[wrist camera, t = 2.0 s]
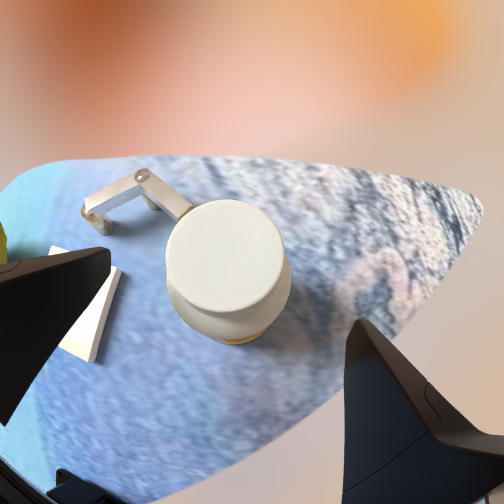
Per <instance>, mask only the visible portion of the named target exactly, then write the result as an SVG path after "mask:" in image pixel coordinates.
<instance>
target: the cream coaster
mask: <svg viewBox="0 0 504 504" xmlns="http://www.w3.org/2000/svg"><path fill="white" fill-rule="evenodd" d="M65 252H69V251H66V250H63V249H61V248H58V247H55V246H52V247H51V250H50V252H49V255H53V254H59V253H65ZM121 274H122V271H120V270H119V269H118V268H116V267H113V266H111V273H110V276H109V277H108V279H107V280H106V281H105V283H104V284H103V286H102V287H101V289H100V290H99V292H98V293H97V295H96V296H95V298H94V299H93V301H92V302H91V303H90V305H89V306H88V307H87V309H86V310H85V311H84V312H83V314H82V315H81V316H80V317H79V319H78V320H77V321H76V322H75V324H74V325H73V326H72V328H71V329H70V330H69V331H68V333H67V334H66V335H65V337H64V338H63V339H62V341H61V342H60V343H59V345H58V346H59V347H61V348H63V349H64V350H66V351H68V352H70V353H71V354H73V355H75V356H77V357H79V358H81V359H83V360H85V361H86V362H95V360H96V356H97V352H98V348H99V344H100V340H101V337H102V333H103V329H104V326H105V323H106V319H107V316H108V313H109V309H110V306H111V303H112V300H113V297H114V294H115V291H116V288H117V285H118V282H119V279H120V276H121Z"/></svg>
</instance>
